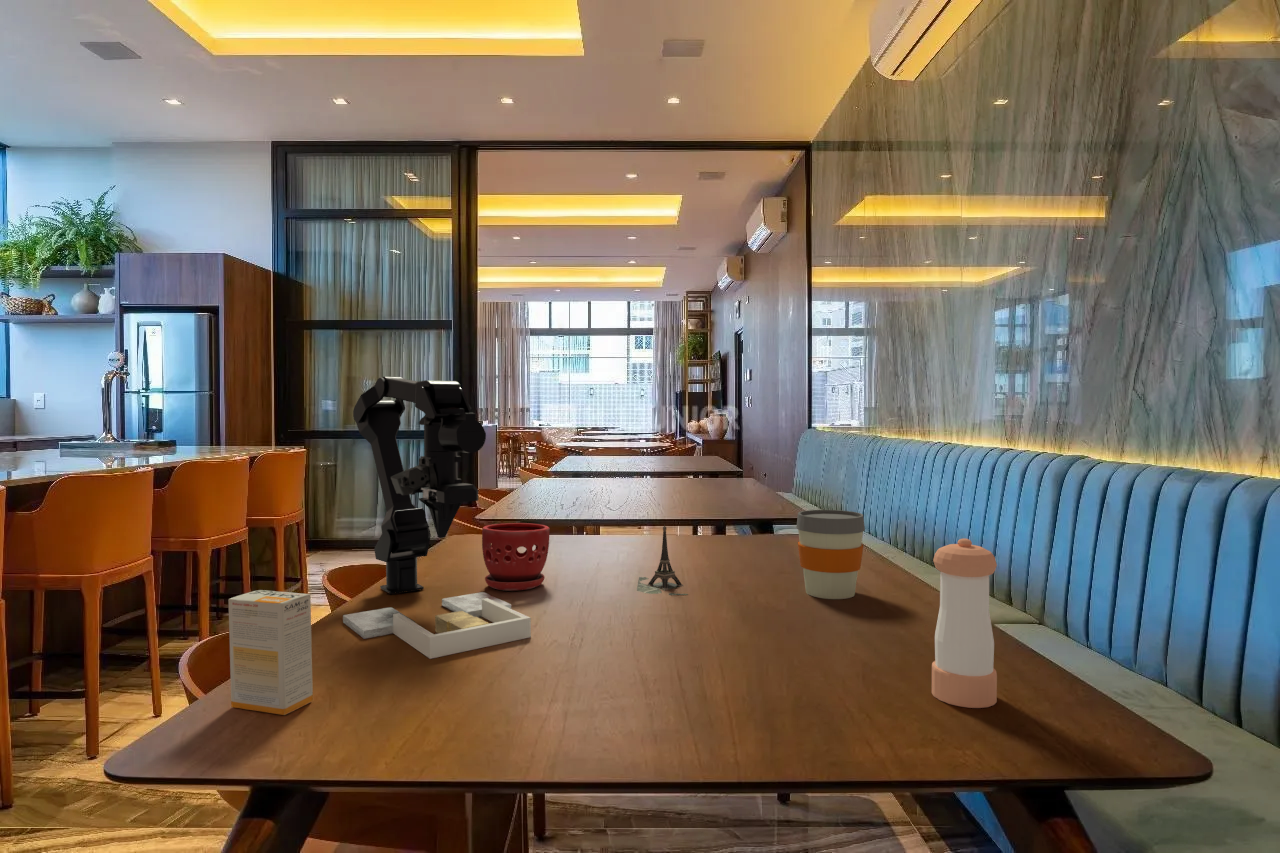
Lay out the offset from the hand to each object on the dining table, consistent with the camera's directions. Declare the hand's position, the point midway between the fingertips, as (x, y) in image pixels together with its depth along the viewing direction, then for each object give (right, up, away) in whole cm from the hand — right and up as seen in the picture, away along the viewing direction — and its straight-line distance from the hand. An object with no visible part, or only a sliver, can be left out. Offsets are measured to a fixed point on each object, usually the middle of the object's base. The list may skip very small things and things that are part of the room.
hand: (441, 537), depth 133 cm
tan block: (+6, -13, -17) cm, 22 cm away
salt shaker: (+75, -13, -43) cm, 87 cm away
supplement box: (-8, -13, -45) cm, 48 cm away
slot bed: (0, -12, -8) cm, 15 cm away
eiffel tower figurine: (+40, -12, +14) cm, 44 cm away
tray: (+8, -12, -18) cm, 23 cm away
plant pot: (+11, -12, +14) cm, 21 cm away
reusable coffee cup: (+72, -12, +7) cm, 73 cm away
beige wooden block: (+9, -13, -20) cm, 26 cm away
